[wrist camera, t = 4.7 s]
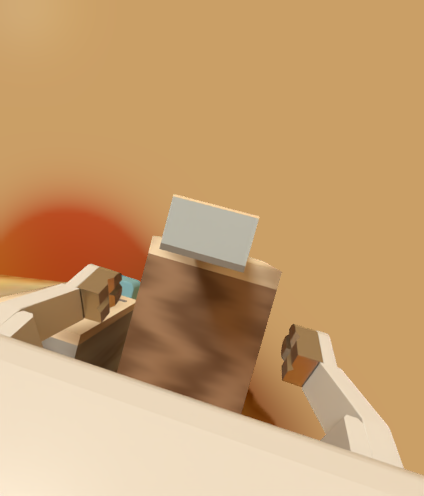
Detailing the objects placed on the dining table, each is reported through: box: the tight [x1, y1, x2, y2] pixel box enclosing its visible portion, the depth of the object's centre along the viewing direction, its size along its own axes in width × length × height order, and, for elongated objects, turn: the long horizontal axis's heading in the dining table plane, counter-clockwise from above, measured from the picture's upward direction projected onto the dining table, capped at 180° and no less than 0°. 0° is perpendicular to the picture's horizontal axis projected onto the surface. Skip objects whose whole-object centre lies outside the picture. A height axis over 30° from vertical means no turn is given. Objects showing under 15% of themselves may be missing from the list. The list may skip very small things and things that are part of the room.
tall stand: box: [117, 236, 282, 414], centre depth 27 cm, size 11×13×26 cm
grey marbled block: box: [0, 282, 136, 373], centre depth 28 cm, size 10×13×16 cm
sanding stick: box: [159, 194, 259, 273], centre depth 22 cm, size 4×22×3 cm, turn 174°
